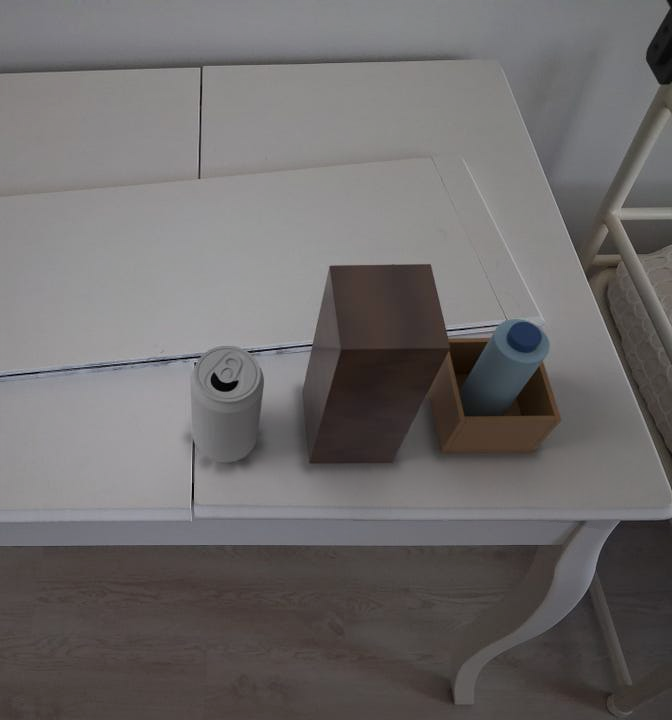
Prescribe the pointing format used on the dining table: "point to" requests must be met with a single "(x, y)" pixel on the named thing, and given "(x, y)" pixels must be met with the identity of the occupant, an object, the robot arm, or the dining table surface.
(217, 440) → the beverage can
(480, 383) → the bottle
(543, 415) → the open wooden box
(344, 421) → the plinth
